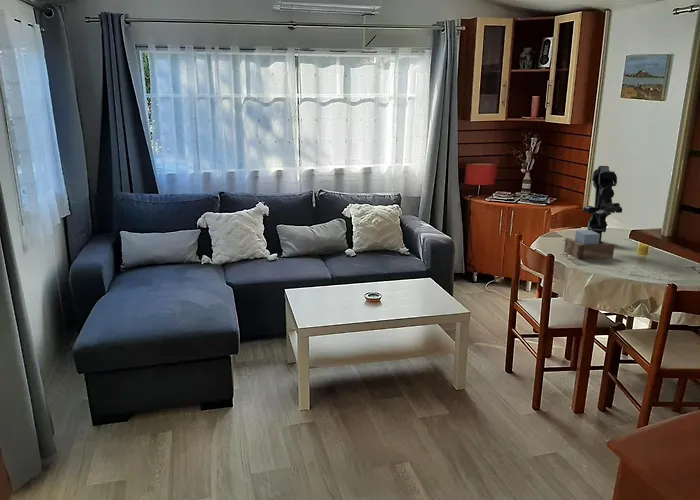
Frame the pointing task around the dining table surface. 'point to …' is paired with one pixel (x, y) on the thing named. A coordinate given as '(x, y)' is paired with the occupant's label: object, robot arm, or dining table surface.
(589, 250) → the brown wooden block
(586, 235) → the slate block
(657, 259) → the dining table surface
